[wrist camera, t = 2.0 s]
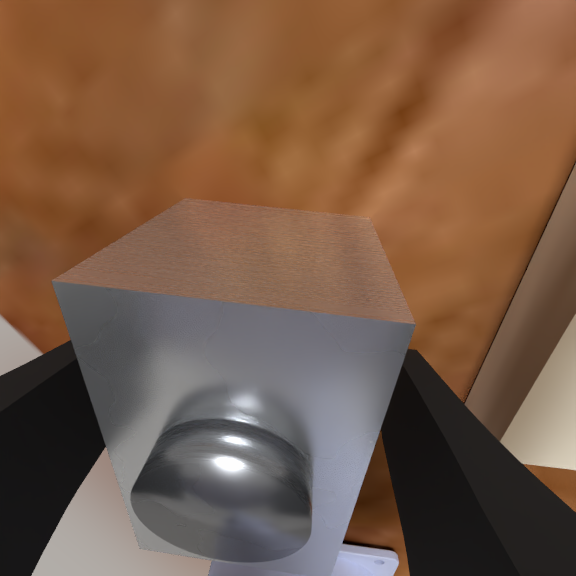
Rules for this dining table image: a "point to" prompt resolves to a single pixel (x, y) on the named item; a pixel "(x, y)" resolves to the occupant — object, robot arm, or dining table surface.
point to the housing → (240, 376)
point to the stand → (537, 353)
